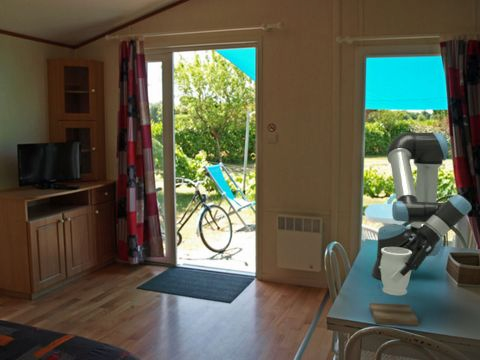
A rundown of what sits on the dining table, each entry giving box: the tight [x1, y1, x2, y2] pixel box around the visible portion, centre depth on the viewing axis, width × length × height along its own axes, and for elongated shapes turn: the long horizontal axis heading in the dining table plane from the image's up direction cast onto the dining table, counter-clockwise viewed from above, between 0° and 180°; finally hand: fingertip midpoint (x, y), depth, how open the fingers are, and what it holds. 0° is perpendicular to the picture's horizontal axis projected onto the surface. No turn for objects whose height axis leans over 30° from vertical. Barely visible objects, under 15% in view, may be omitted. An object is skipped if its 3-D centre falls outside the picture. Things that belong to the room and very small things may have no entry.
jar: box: [380, 247, 412, 296], centre depth 164 cm, size 11×10×15 cm
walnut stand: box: [369, 302, 420, 327], centre depth 167 cm, size 14×14×2 cm
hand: (387, 275), depth 164 cm, fingers closed on jar, 10 cm apart
